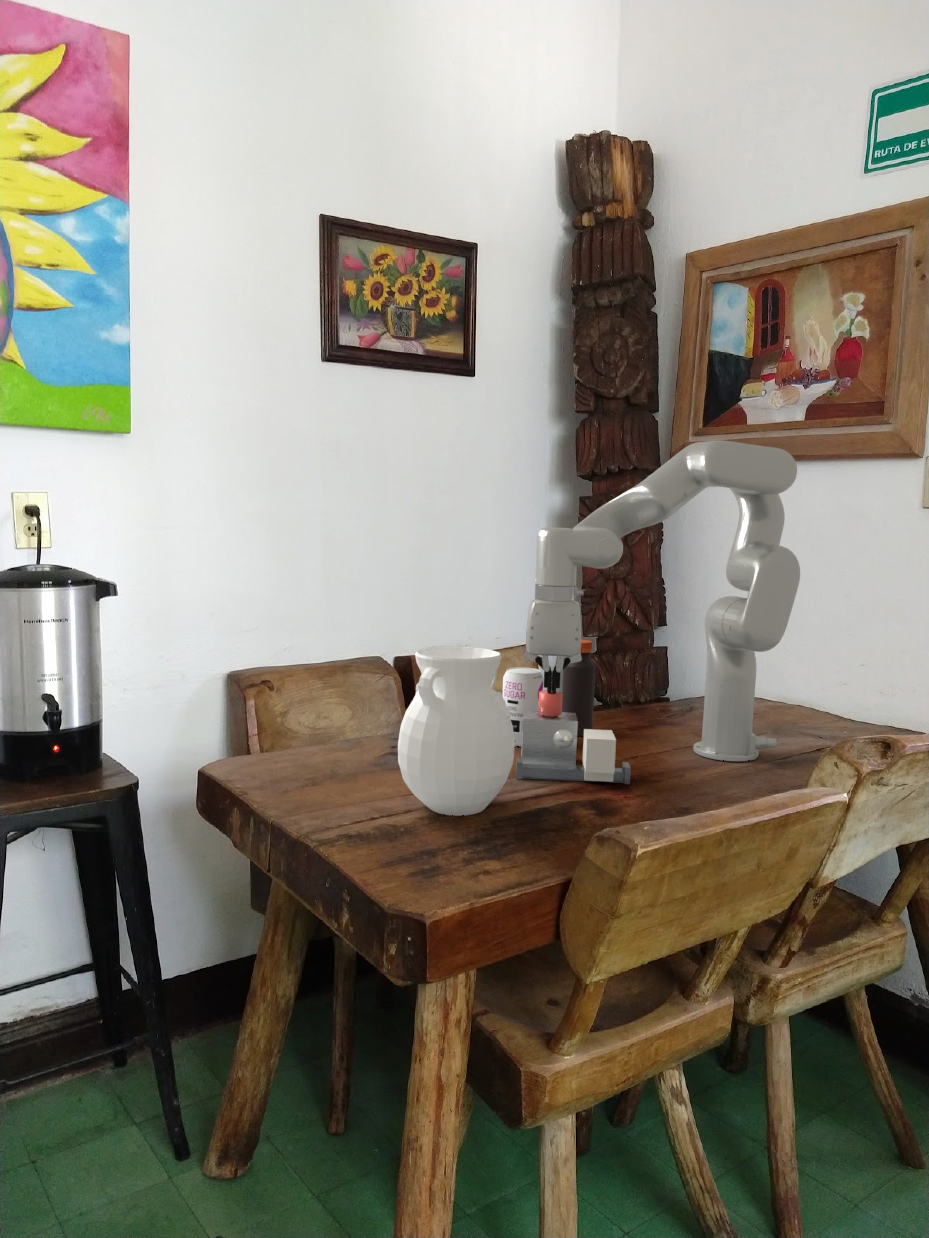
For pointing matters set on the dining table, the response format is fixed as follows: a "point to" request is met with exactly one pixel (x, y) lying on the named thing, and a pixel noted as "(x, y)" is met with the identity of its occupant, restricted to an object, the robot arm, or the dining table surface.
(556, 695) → the button
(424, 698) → the pitcher
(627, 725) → the dining table surface
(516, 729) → the supplement can
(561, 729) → the grey box
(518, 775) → the rail
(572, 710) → the bottle
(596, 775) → the carriage
